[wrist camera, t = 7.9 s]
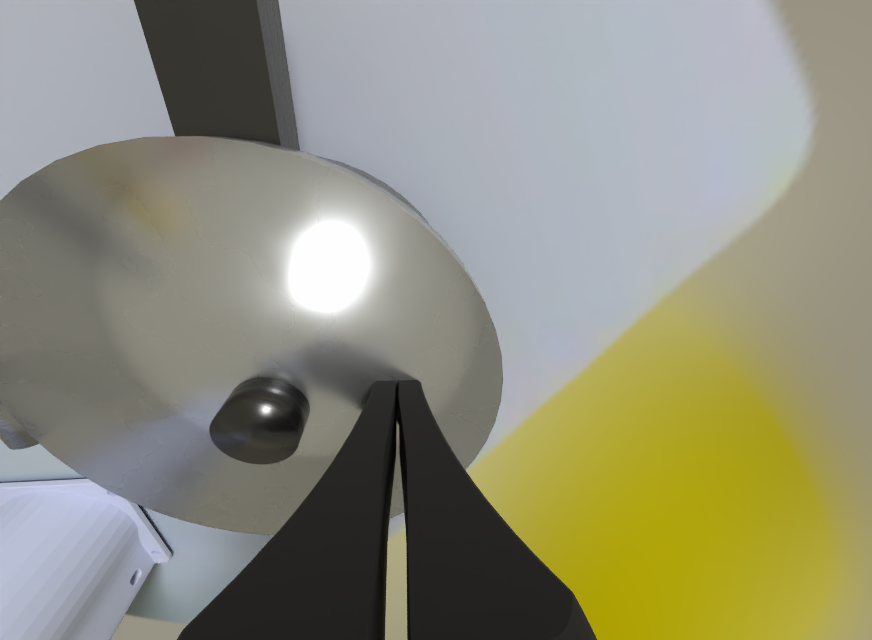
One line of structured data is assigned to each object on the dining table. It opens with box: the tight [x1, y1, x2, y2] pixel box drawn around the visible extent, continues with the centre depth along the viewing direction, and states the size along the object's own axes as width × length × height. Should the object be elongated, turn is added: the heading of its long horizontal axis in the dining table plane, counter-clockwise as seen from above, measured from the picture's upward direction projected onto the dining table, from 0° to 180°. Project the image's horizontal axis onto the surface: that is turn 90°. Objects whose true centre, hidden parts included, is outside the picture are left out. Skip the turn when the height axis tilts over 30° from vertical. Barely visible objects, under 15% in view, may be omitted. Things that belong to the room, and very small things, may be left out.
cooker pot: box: [134, 0, 429, 224], centre depth 12 cm, size 20×14×5 cm
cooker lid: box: [0, 136, 503, 535], centre depth 10 cm, size 15×16×2 cm
